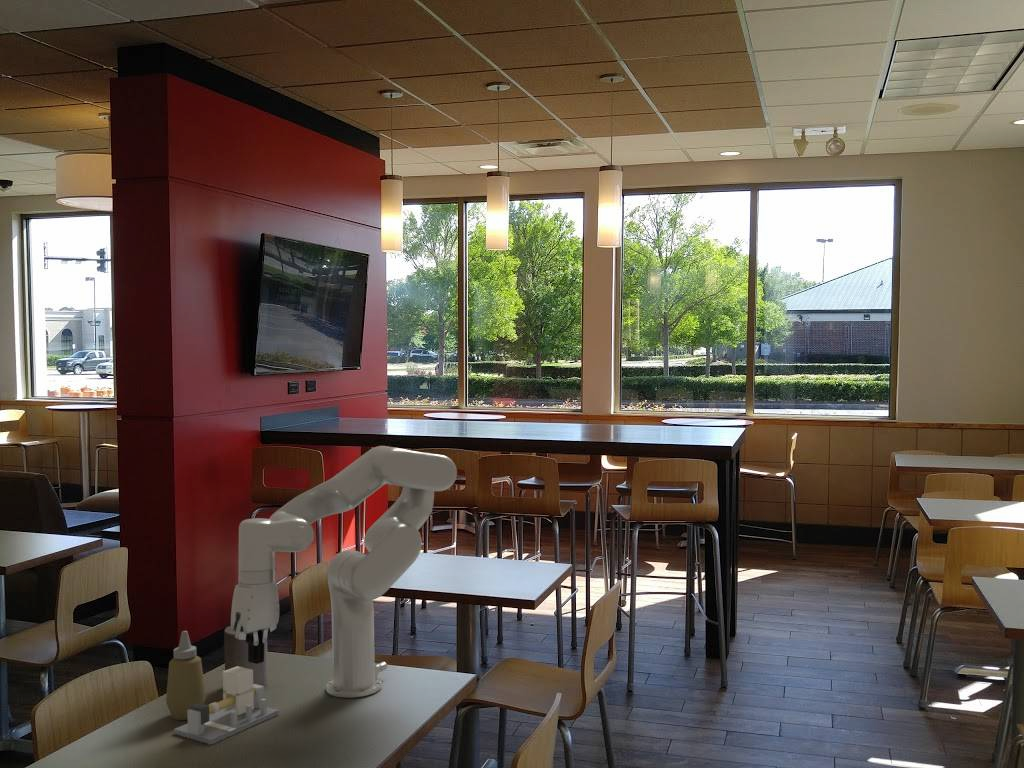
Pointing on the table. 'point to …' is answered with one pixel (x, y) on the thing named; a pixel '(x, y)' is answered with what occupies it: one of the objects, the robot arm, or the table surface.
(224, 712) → the gray assembly board
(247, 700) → the white block
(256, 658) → the robot arm
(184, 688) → the squeeze bottle
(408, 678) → the table surface
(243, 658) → the pillar candle
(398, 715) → the table surface
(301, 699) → the table surface
